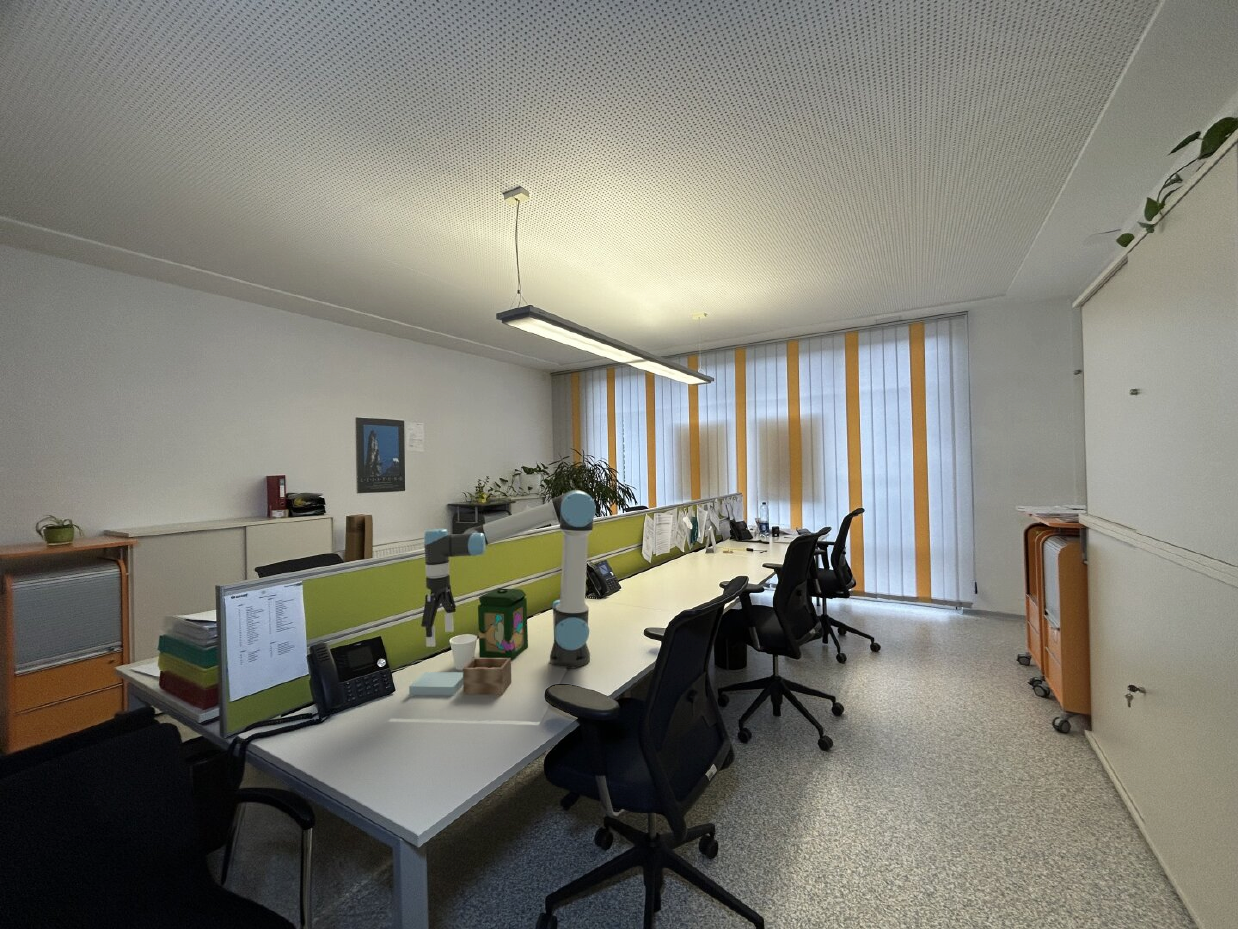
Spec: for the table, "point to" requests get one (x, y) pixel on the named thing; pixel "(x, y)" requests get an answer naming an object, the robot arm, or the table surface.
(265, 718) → the table surface
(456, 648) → the cup
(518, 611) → the container
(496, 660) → the crate
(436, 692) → the lid
